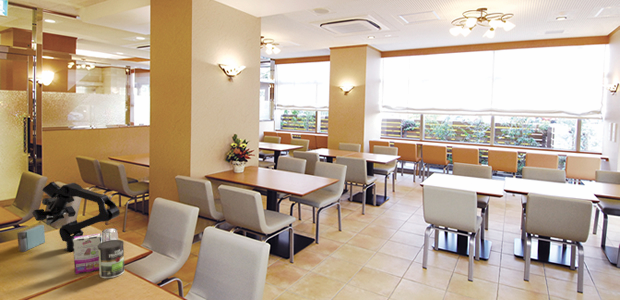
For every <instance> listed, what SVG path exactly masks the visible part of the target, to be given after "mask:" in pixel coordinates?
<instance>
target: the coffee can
mask: <svg viewBox="0 0 620 300" xmlns="http://www.w3.org/2000/svg"><path fill="white" fill-rule="evenodd" d="M124 244H125V243H124V241H123V240H121V239H118V240H110V241H105V242H102V243H100V244H99V245H98V255H99V270H98V273H99V276H98V277H99V278H102V279H113V278H117V277H120V276H121V275H123V274H124V273H125V272H126V271H125V252H124V251H125V250H124V248H125V247H124Z"/></svg>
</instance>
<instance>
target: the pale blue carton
mask: <svg viewBox="0 0 620 300" xmlns="http://www.w3.org/2000/svg"><path fill="white" fill-rule="evenodd" d="M39 225H40V224H37V225H34V226H32V227H29V228H27V229H24V230H20V231H18V232H17V233H16V235H17V246H18V251H19V252H21V243H20V239H24V238H26V236H25V232H24V231H27V230H29V229H32V228H34V227H37V226H39Z"/></svg>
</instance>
